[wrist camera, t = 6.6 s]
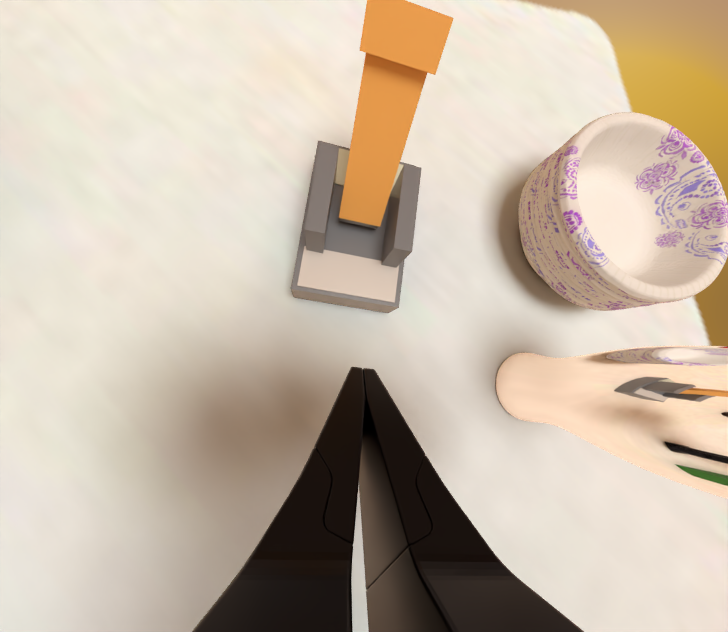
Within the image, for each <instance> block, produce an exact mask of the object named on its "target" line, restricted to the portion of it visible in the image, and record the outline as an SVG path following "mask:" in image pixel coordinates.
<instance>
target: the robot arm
mask: <svg viewBox="0 0 728 632" xmlns="http://www.w3.org/2000/svg"><path fill="white" fill-rule="evenodd" d="M358 483H359V490H360V505H361V520H362V535H363V550H364V565H365V580H366V589H367V591H366V597H367V612H368V627H369V632H584V631H583V630H581V629H580V628H579V627H578V626H576V625H575V624H574V623H573V622H571V621H570V620H569V619H568V618H566V617H565V616H564V615H563V614H562V613H560V612H559V611H558V610H557V609H555V608H554V607H553V606H552V605H550V604H549V603H548V602H547V601H545V600H544V599H543V598H542V597H540V596H539V595H538V594H537V593H536V592H534V591H533V590H532V589H531V588H529V587H528V586H527V585H526V584H524V583H523V582H522V581H521V580H520V579H518V578H517V577H516V576H515V575H514V574H513V573H512V572H511V571H510V570H509V569H508V568H507V567H506V566H505V565H504V564H503V563H502V562H501V561H500V560H499V559H498V557H497V556H496V555H495V554H494V552H493V551H492V550H491V549H490V547H489V546H488V545H487V543H486V542H485V540H484V539H483V538H482V536H481V535H480V534H479V532H478V531H477V529H476V528H475V527H474V525H473V524H472V523H471V521H470V520H469V519H468V517H467V516H466V514H465V513H464V512H463V510H462V509H461V508H460V506H459V505H458V503H457V502H456V501H455V499H454V498H453V496H452V495H451V494H450V492H449V491H448V489H447V488H446V486H445V485H444V483H443V482H442V480H441V479H440V477H439V476H438V474H437V472H436V471H435V469H434V468H433V466H432V464H431V463H430V461H429V459H428V458H427V456H425V453H424V451H423V449H422V448H421V446H420V444H419V443H418V441H417V439H416V438H415V436H414V435H413V433H412V431H411V430H410V428H409V426H408V425H407V423H406V421H405V420H404V418H403V416H402V415H401V413H400V411H399V410H398V408H397V406H396V405H395V403H394V401H393V400H392V398H391V396H390V395H389V393H388V391H387V390H386V388H385V386H384V385H383V383H382V381H381V380H380V378H379V376H378V375H377V373H376V371H375V370H374V369H367V368H364V369H362V368H358V367H351V369H350V371H349V373H348V375H347V377H346V379H345V381H344V384H343V386H342V388H341V390H340V392H339V394H338V397H337V399H336V401H335V403H334V405H333V407H332V409H331V412H330V414H329V416H328V418H327V420H326V422H325V425H324V427H323V429H322V431H321V433H320V435H319V437H318V440H317V442H316V444H315V446H314V449H313V450H312V452H311V454H310V457H309V459H308V461H307V463H306V465H305V467H304V469H303V471H302V473H301V475H300V477H299V478H298V480H297V482H296V484H295V485H294V487H293V489H292V490H291V492H290V494H289V495H288V497H287V499H286V500H285V502H284V504H283V505H282V507H281V508H280V510H279V512H278V513H277V515H276V516H275V518H274V520H273V521H272V523H271V524H270V526H269V528H268V529H267V531H266V532H265V534H264V536H263V537H262V539H261V540H260V542H259V544H258V545H257V547H256V548H255V550H254V551H253V553H252V554H251V556H250V557H249V559H248V560H247V562H246V563H245V565H244V566H243V567H242V569H241V570H240V572H239V573H238V574H237V576H236V577H235V578H234V580H233V581H232V582H231V583H230V585H229V586H228V587H227V589H226V590H225V591H224V592H223V594H222V595H221V596H220V597H219V599H218V600H217V601H216V602H215V604H214V605H213V606H212V607H211V609H210V610H209V611H208V612H207V614H206V615H205V616H204V617H203V619H202V620H201V621H200V623H199V624H198V625H197V626H196V628H195V629H194V630H193V631H192V632H352V592H351V571H352V553H353V541H354V530H355V518H356V506H357V494H358Z"/></svg>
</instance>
